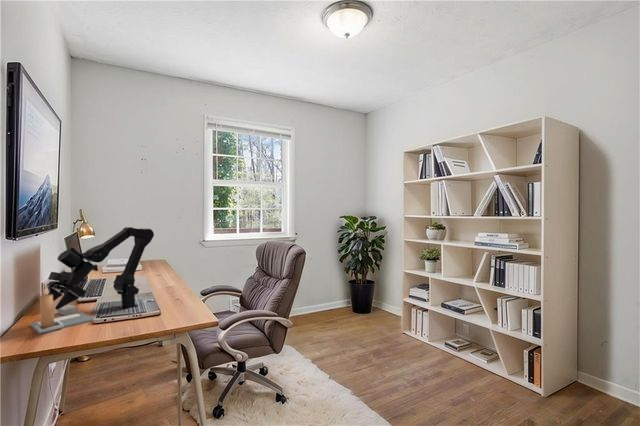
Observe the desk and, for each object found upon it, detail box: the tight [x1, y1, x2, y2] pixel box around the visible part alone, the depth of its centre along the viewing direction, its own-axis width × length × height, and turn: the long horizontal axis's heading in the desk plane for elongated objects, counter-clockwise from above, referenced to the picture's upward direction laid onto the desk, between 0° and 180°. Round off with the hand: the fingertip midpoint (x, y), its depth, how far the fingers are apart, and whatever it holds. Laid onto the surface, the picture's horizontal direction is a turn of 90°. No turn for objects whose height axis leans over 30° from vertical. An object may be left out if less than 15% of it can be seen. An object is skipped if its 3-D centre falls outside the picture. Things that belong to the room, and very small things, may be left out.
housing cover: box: [57, 304, 79, 316], centre depth 155 cm, size 7×5×2 cm
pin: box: [39, 293, 55, 329], centre depth 133 cm, size 4×4×13 cm
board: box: [30, 311, 94, 335], centre depth 140 cm, size 16×18×2 cm
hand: (50, 307), depth 134 cm, fingers open, 9 cm apart
